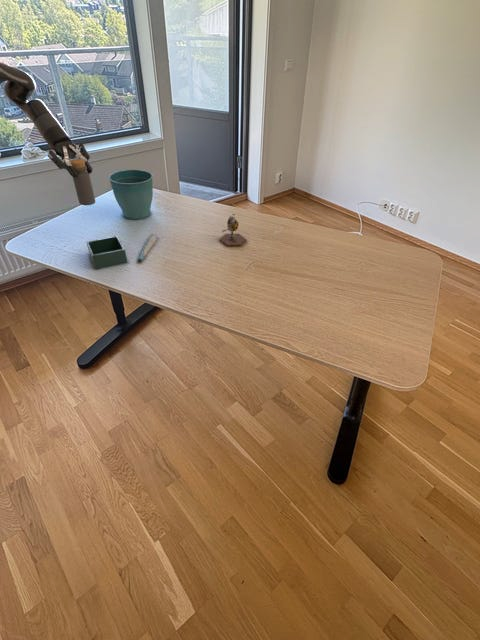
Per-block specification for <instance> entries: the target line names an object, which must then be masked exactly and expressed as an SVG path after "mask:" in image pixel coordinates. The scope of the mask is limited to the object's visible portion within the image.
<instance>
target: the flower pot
mask: <svg viewBox="0 0 480 640" xmlns="http://www.w3.org/2000/svg"><path fill="white" fill-rule="evenodd" d="M153 176H154V175H153V173H151V172H149V171H147V170H143V169H123V170H118V171H115V172H113V173H111V174H110V175H109V176H108V180H109V182H110V186H111V188H112V192H113V195H114V198H115V200H116V202H117V204H118V206H119V208H120V210H121V211H122V215H123V217H124V218H127V219H130V220H140V219H145V218H147V217H149V216H150V215H151V207H152V202H153V197H154V190H153V183H154V182H153V178H154V177H153Z"/></svg>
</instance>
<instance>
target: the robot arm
mask: <svg viewBox="0 0 480 640" xmlns="http://www.w3.org/2000/svg"><path fill="white" fill-rule="evenodd" d="M4 82H5V83H4ZM2 83H4V85H3V92H4V95H5V96H6V98H7V99H8V100H9V101H10V102H11V103H13V104H14V105H15V106H16V107H18V108H19V109H20V110H21V111H22V112H23V113H25V115H27V117H28V118H29V119H30V122H32V123H33V125H34V126H35V128H36V130H37V131H38V133H39V134H40V136H41V137H42V138H43V140H44V141H45V142H46V144H47V145H48V146H49V148H50V150H49V151H48V153H47V157H48V158H49V160H51V162H52V163H53V164H54V165H55V166H56V167H57V168H58V170H63V169H64V170H66V171H67V172H68V174H69V175H70V177H72V178H73V177H74V178H77V176H78V174H77V173H76V171H75V170H74V169H73V167H72V165H71V162H70V161H71V160H74V159H82V160H84V161H85V165H86V166H87V169H86V171H87V172H88V173H89V175H90V174H93V167H92V166H91V164H90V163H89V160H90V158H91V156H90V154H89V152H88V151H87V149H86V147H85V146H84V144H83V143H82V142H79V144H75V143H74V142H73V141H72V140H71V137H70V135H69V134H68V133H67V132H66V131H65V129H64V127H63V126H62V125H61V124H60V122H59V120H57V118H56V117H55V116H54V115H53V113H52V112H51V110H50V109H49V108H48V107H47V106H46V104H45V103H44V102H43V101H42V100H41V99H39V98H33V99H31V100H29V99H30V98H31V97H32V95H33V94H34V93H35V91H36V89H37V84H36V82H35V80H34V78H33V77H32V76H31V75H30V74H29V73H28V72H26V71H24V70H23V69H20V68H18V67H16V66H12V65H9V64H6V63H4V62H1V61H0V84H2ZM28 100H29V101H28Z"/></svg>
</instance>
